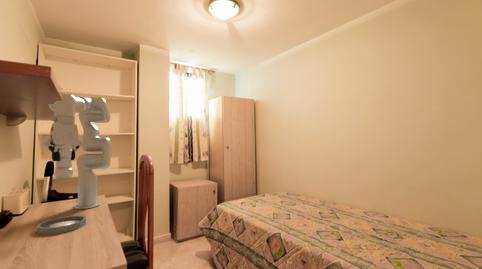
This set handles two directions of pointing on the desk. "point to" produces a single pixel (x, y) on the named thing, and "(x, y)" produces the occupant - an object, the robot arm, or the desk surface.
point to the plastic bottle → (64, 162)
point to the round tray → (61, 225)
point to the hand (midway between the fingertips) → (63, 160)
